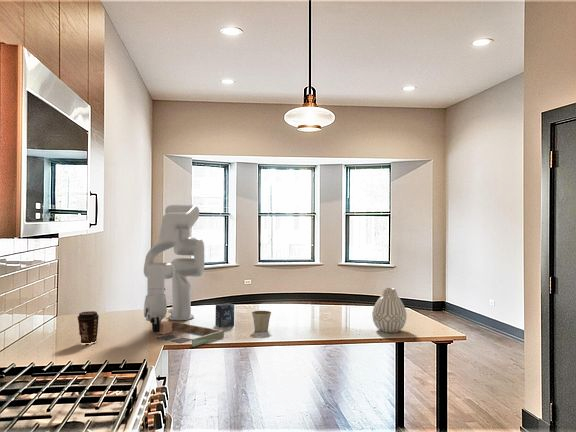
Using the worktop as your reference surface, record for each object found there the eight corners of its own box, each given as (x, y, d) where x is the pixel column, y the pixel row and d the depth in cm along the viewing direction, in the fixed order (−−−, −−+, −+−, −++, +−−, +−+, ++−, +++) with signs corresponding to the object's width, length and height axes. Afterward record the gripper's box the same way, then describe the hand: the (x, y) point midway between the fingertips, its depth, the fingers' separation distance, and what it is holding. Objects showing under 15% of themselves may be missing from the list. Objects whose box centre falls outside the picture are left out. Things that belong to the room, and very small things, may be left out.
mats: (156, 338, 223) (156, 337, 223) (168, 335, 229) (168, 334, 229) (180, 343, 215) (180, 342, 215) (192, 339, 220) (192, 339, 220)
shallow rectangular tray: (140, 335, 227) (140, 329, 227) (171, 327, 243) (171, 321, 243) (193, 346, 209) (193, 339, 209) (223, 337, 225) (223, 330, 225)
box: (220, 327, 244) (220, 306, 244) (215, 325, 248) (215, 304, 248) (234, 325, 248) (234, 304, 248) (229, 323, 253) (229, 302, 253)
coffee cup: (81, 340, 218) (81, 310, 218) (101, 340, 219) (101, 310, 219) (74, 346, 210) (74, 314, 210) (95, 345, 210) (95, 314, 210)
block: (156, 332, 233) (156, 323, 233) (164, 330, 237) (164, 321, 237) (163, 334, 230) (163, 324, 230) (171, 332, 234) (171, 322, 234)
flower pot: (274, 329, 241) (274, 311, 241) (267, 333, 232) (267, 315, 232) (256, 327, 244) (256, 309, 244) (248, 332, 235) (248, 313, 235)
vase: (412, 334, 232) (412, 290, 232) (378, 335, 229) (379, 291, 229) (398, 326, 248) (399, 285, 248) (367, 327, 245) (367, 286, 245)
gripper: (162, 289, 238) (162, 328, 238) (137, 293, 225) (137, 334, 226) (174, 290, 234) (173, 330, 234) (148, 294, 221) (148, 336, 221)
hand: (155, 332), depth 230 cm, fingers closed
